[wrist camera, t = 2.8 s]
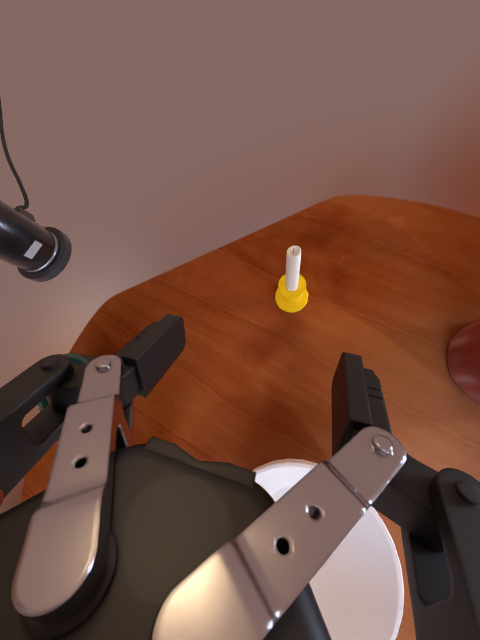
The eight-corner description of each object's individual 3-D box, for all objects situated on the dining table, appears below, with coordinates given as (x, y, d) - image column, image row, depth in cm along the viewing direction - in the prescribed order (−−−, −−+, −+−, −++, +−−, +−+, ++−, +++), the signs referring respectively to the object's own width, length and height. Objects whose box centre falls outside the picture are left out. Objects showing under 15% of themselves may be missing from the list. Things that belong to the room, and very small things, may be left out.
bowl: (403, 501, 31) (436, 536, 24) (337, 661, 28) (354, 751, 22) (266, 418, 36) (261, 427, 29) (201, 547, 34) (179, 590, 27)
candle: (269, 293, 40) (259, 243, 25) (295, 276, 40) (301, 216, 25) (286, 318, 39) (286, 281, 24) (314, 301, 39) (331, 253, 24)
